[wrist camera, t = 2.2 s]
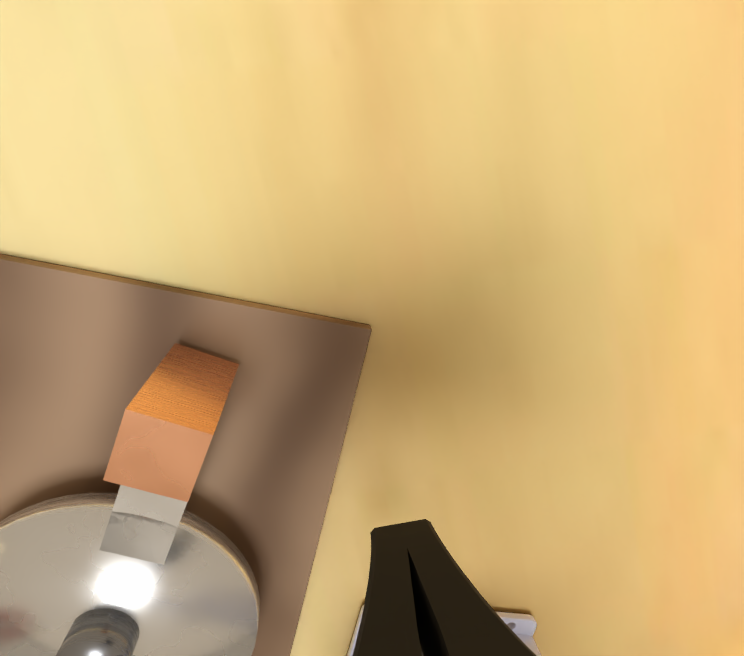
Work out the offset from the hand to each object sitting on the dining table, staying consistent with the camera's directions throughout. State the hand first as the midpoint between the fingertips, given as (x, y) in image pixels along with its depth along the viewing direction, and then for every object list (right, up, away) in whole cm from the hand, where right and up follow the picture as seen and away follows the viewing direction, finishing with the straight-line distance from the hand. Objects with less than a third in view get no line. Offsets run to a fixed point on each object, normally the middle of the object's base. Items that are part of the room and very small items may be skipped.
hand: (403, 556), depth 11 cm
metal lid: (-10, -4, +9) cm, 14 cm away
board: (-12, -3, +10) cm, 16 cm away
